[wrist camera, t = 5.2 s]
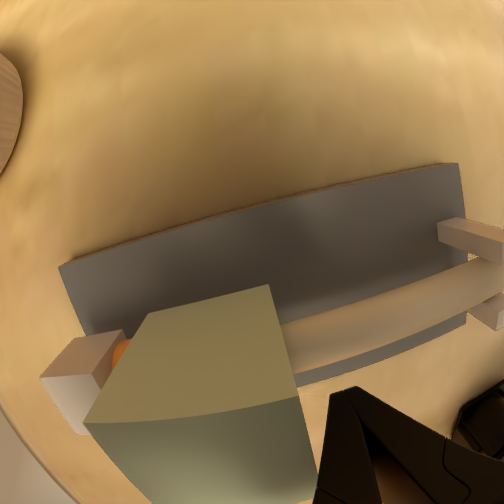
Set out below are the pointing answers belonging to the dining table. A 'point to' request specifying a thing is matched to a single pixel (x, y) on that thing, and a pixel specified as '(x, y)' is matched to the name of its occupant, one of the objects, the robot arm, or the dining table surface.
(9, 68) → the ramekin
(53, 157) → the dining table surface
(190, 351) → the matte sage green cube
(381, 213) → the cord board
